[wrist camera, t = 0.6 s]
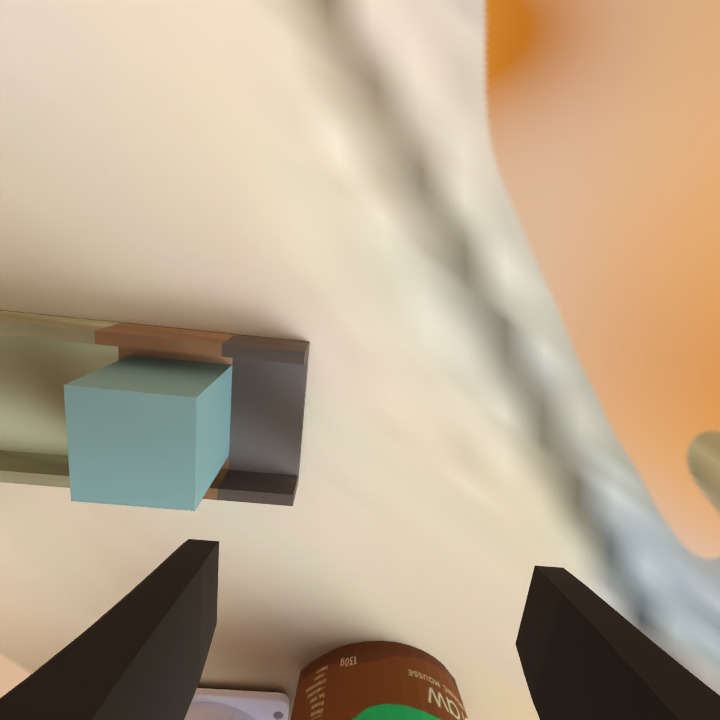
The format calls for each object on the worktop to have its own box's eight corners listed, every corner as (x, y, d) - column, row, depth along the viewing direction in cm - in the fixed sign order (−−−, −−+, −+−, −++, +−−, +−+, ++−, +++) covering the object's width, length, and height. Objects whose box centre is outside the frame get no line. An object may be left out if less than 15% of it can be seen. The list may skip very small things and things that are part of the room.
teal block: (229, 455, 18) (194, 510, 14) (133, 446, 17) (71, 500, 13) (232, 364, 17) (196, 397, 13) (131, 354, 16) (63, 384, 13)
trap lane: (297, 482, 18) (292, 506, 17) (-67, 451, 18) (-112, 472, 16) (309, 342, 17) (305, 351, 15) (-89, 301, 16) (-143, 306, 14)
